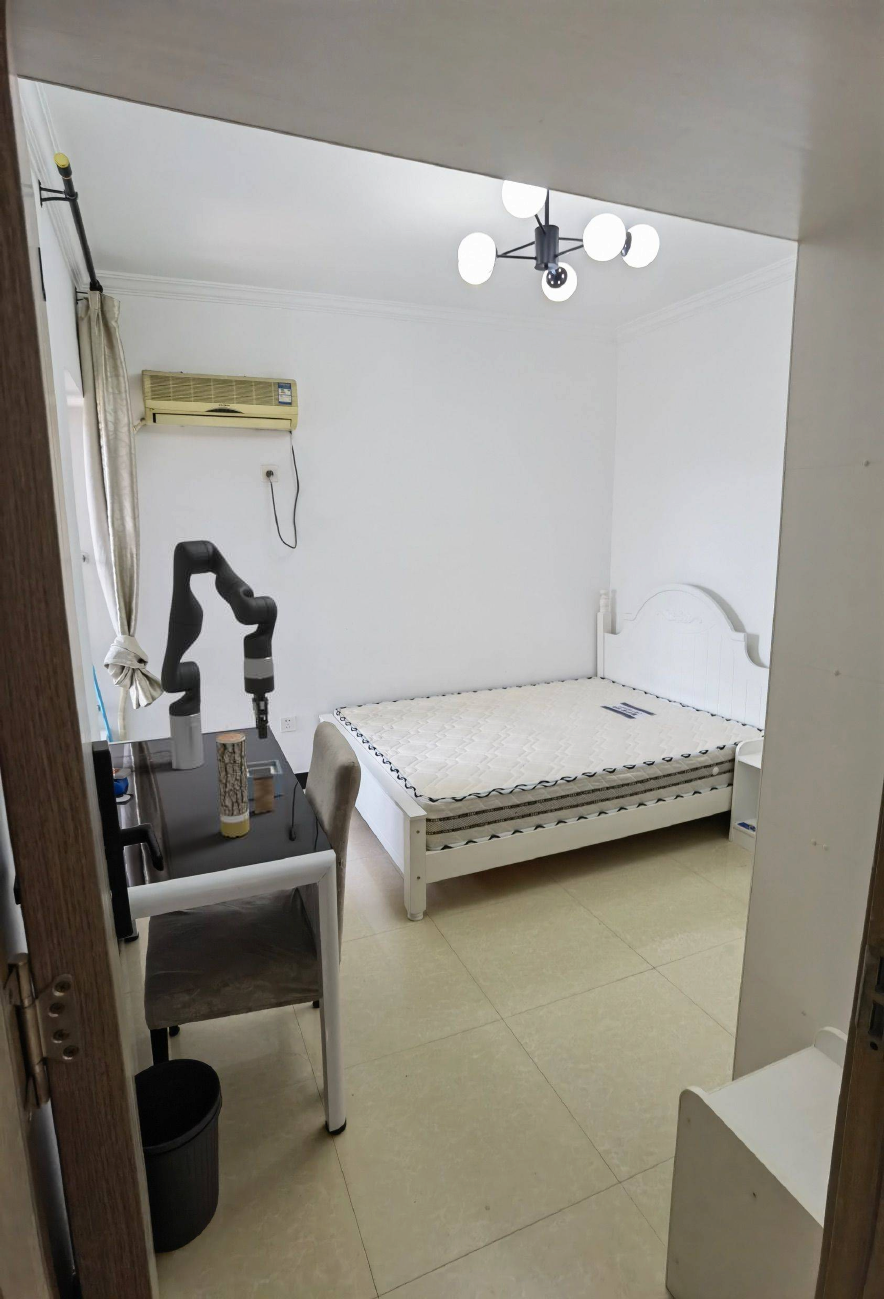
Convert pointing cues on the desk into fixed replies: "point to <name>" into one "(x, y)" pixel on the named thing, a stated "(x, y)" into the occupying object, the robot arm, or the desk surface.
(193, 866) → the desk surface
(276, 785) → the blue open box
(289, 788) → the desk surface
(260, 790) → the wooden plank
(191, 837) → the desk surface
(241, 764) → the bark log cylinder
